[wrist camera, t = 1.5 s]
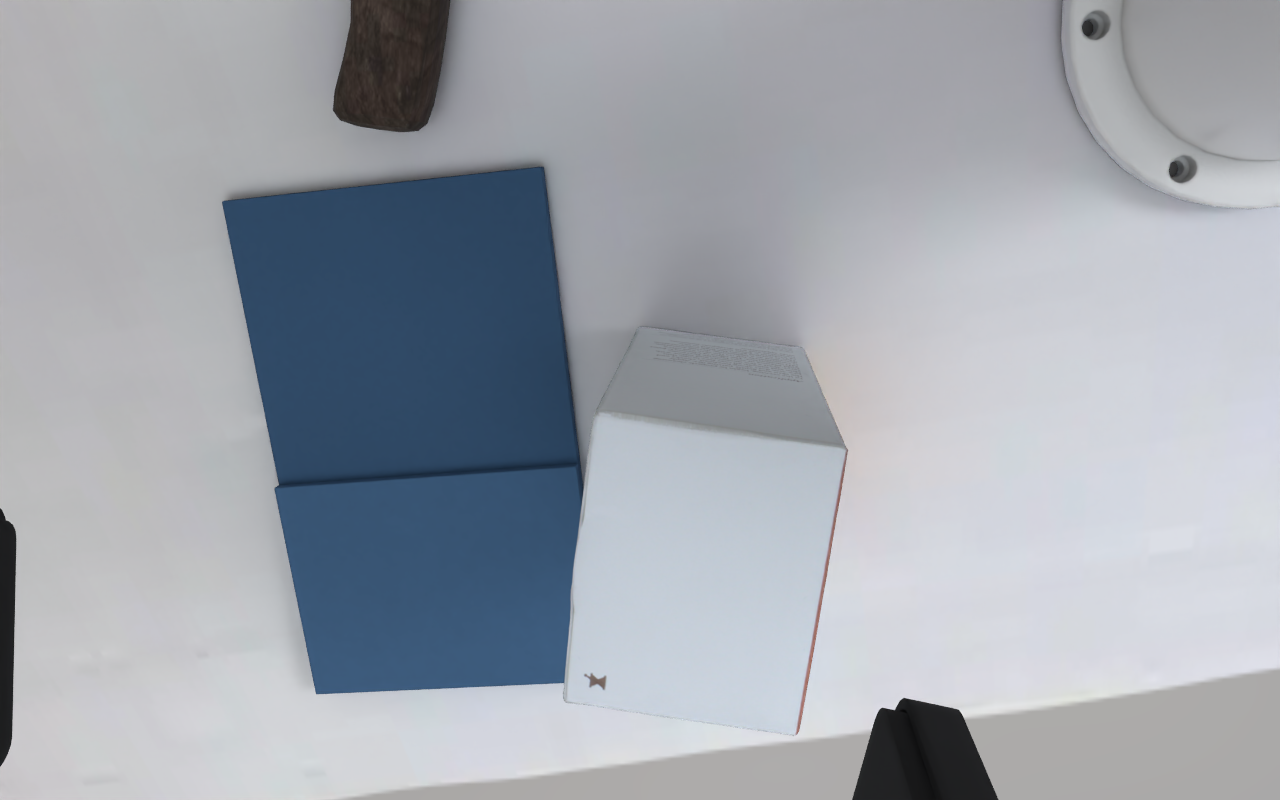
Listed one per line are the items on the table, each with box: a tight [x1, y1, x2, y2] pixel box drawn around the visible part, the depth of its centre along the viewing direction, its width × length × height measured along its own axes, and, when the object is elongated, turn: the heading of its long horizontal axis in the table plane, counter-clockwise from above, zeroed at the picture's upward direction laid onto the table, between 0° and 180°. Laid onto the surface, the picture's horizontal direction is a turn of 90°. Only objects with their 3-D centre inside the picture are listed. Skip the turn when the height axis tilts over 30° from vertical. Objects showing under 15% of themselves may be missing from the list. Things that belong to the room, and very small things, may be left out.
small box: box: [563, 327, 848, 736], centre depth 30 cm, size 8×6×13 cm
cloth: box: [222, 167, 584, 694], centre depth 37 cm, size 12×20×1 cm, turn 6°
